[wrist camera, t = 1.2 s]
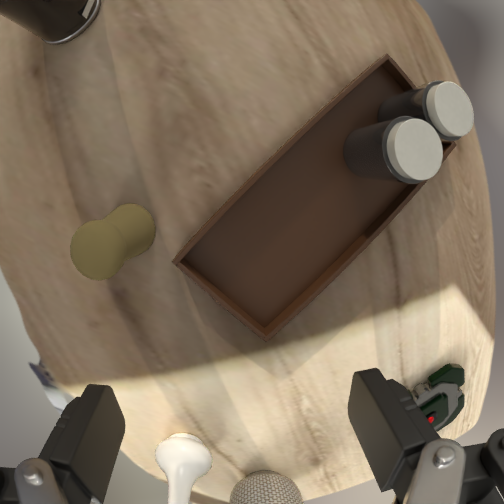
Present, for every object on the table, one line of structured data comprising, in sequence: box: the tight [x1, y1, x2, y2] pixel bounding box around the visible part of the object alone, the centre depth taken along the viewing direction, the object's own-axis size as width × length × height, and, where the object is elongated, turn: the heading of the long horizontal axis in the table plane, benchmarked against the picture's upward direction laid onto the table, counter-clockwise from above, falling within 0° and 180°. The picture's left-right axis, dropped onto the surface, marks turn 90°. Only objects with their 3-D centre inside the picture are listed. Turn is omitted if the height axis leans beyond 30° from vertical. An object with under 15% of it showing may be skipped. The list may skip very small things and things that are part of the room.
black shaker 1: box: [377, 81, 474, 142], centre depth 25 cm, size 6×6×11 cm
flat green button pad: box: [407, 363, 465, 431], centre depth 42 cm, size 18×18×5 cm
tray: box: [172, 54, 456, 342], centre depth 32 cm, size 14×34×2 cm, turn 135°
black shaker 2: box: [343, 116, 443, 184], centre depth 26 cm, size 6×6×11 cm
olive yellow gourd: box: [70, 203, 155, 281], centre depth 27 cm, size 6×6×11 cm
